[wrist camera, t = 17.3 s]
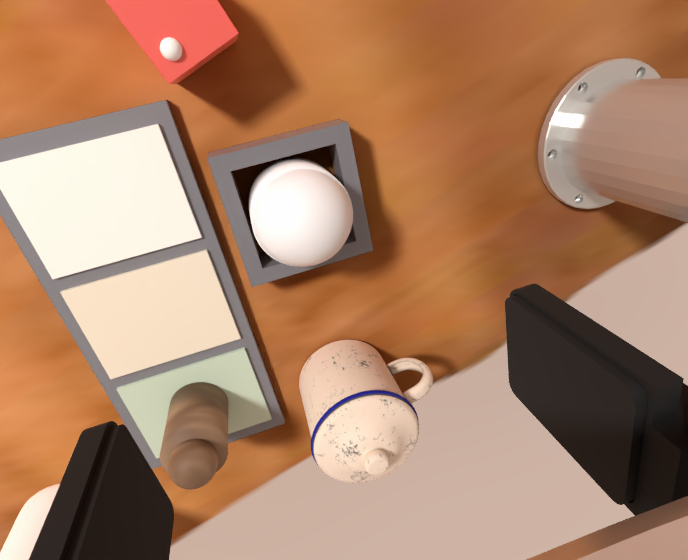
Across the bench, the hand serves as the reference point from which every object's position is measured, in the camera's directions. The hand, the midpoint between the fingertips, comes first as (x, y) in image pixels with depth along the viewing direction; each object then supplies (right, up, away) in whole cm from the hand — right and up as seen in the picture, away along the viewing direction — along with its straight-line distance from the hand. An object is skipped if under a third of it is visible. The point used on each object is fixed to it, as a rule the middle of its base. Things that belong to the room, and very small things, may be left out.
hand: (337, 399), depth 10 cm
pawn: (-13, -8, +29) cm, 33 cm away
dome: (-4, +9, +23) cm, 25 cm away
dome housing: (-4, +9, +24) cm, 26 cm away
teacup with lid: (+1, -6, +33) cm, 33 cm away
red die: (-10, +19, +18) cm, 29 cm away
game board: (-15, 0, +25) cm, 30 cm away
